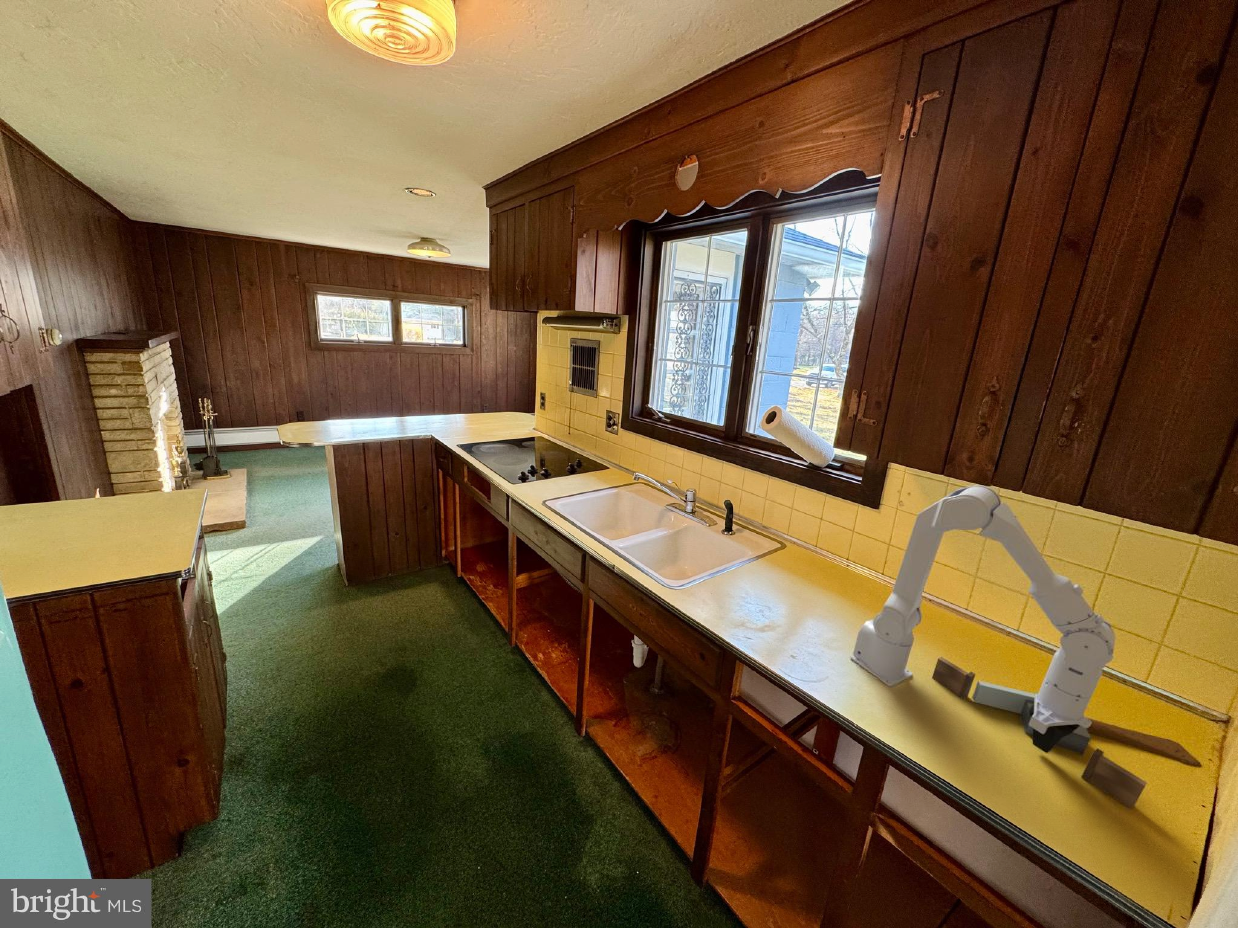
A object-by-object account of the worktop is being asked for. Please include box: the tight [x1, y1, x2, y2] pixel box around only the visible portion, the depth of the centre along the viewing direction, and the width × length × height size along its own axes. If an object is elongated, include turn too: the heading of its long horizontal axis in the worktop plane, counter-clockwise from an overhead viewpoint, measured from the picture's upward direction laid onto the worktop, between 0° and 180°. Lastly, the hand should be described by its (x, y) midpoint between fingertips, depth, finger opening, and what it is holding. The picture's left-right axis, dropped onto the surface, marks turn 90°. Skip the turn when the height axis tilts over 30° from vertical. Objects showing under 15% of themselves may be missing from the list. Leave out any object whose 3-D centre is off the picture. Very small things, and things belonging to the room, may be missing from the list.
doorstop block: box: [1019, 699, 1091, 756], centre depth 85 cm, size 8×5×4 cm, turn 59°
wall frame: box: [931, 656, 1148, 810], centre depth 84 cm, size 30×2×6 cm, turn 28°
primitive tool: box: [1085, 716, 1202, 768], centre depth 85 cm, size 19×6×4 cm, turn 75°
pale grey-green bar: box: [971, 680, 1037, 714], centre depth 90 cm, size 14×2×4 cm, turn 72°
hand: (1041, 747), depth 81 cm, fingers closed
